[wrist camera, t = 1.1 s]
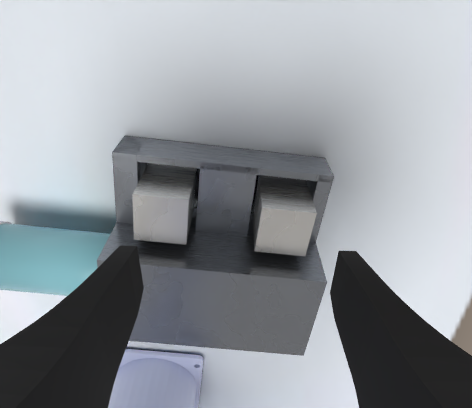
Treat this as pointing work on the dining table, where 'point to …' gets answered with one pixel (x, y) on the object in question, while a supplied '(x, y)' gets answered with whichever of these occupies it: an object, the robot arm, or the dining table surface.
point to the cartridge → (47, 258)
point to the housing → (221, 252)
